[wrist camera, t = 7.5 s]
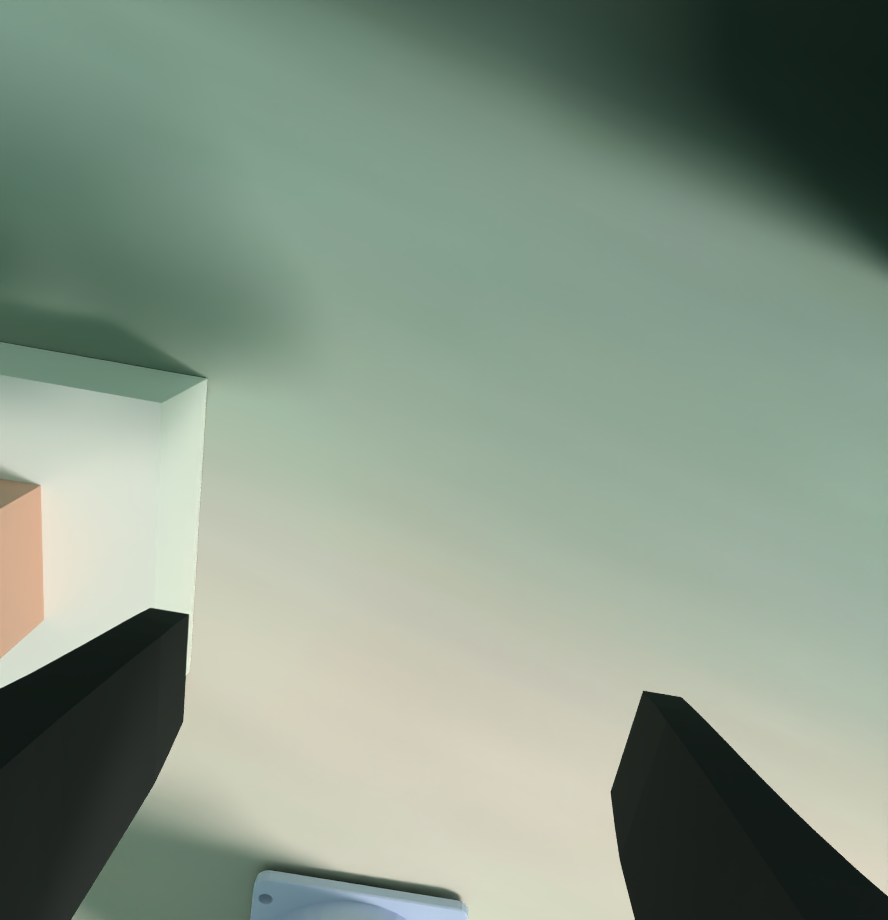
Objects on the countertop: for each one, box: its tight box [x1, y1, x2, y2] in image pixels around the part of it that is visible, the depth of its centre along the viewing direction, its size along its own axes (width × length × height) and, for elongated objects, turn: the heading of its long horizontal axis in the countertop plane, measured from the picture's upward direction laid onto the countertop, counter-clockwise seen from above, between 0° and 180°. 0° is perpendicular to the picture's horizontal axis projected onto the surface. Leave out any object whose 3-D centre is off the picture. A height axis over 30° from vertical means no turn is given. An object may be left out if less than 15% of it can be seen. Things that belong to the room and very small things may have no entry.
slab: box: [0, 342, 207, 688], centre depth 19 cm, size 10×10×3 cm
